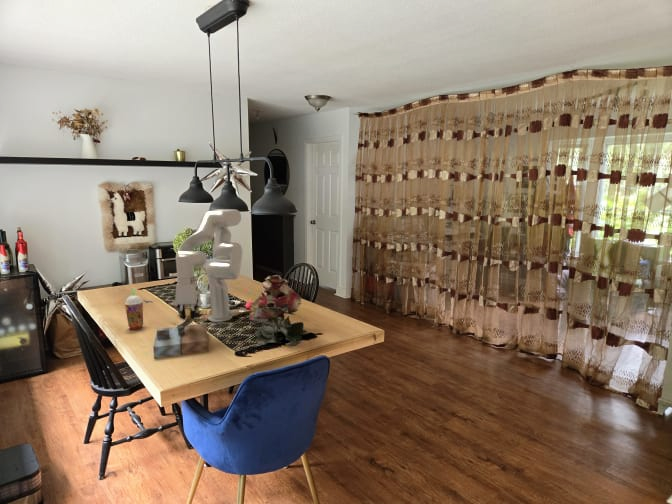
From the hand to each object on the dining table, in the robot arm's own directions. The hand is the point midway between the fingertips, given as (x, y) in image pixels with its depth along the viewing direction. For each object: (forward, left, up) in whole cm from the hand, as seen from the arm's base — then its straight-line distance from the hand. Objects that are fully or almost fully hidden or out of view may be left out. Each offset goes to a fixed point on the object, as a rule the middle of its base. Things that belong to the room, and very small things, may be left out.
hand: (188, 317), depth 198 cm
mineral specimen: (0, -38, -11) cm, 39 cm away
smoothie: (+26, -26, -10) cm, 38 cm away
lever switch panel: (+3, +7, -10) cm, 13 cm away
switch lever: (+2, +3, -2) cm, 4 cm away
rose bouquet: (-40, +10, -11) cm, 42 cm away
